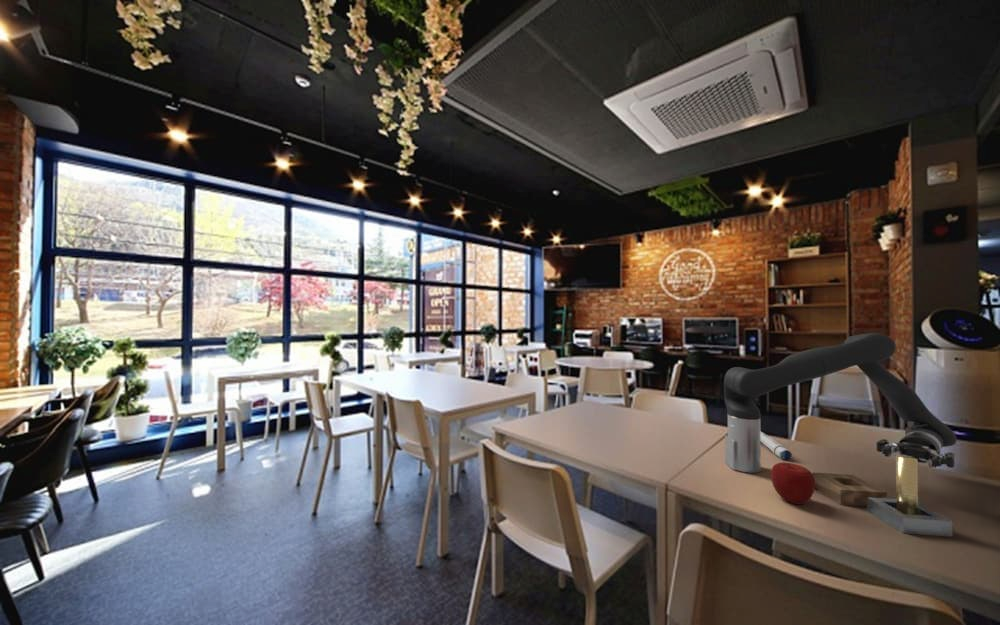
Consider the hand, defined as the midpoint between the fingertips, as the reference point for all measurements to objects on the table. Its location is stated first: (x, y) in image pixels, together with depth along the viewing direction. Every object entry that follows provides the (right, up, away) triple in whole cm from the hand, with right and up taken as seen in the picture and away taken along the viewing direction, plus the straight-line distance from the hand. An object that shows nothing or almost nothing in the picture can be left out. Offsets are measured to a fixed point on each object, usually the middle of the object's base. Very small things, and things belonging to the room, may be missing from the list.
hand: (909, 458), depth 99 cm
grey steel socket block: (-9, -13, -8) cm, 18 cm away
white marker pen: (-7, -14, +44) cm, 46 cm away
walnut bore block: (-11, -13, +6) cm, 18 cm away
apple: (-29, -13, +3) cm, 32 cm away
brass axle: (-9, -13, -8) cm, 18 cm away
